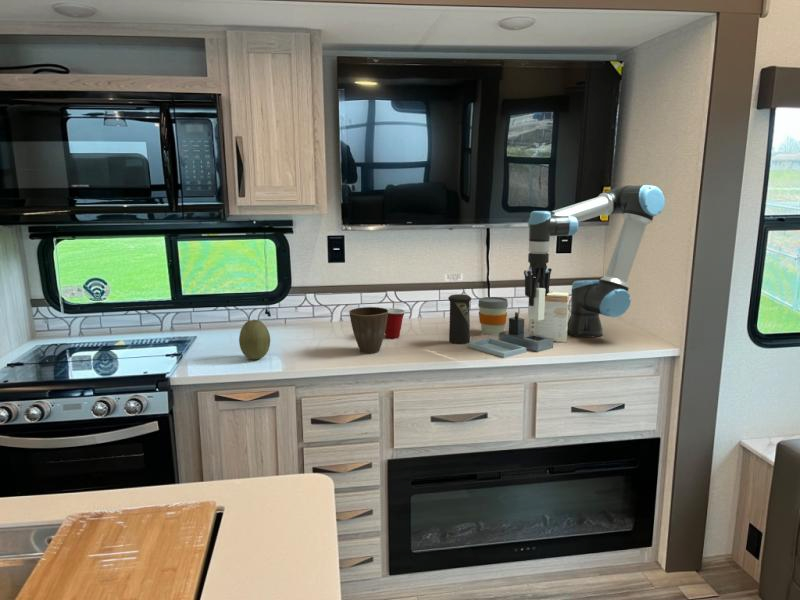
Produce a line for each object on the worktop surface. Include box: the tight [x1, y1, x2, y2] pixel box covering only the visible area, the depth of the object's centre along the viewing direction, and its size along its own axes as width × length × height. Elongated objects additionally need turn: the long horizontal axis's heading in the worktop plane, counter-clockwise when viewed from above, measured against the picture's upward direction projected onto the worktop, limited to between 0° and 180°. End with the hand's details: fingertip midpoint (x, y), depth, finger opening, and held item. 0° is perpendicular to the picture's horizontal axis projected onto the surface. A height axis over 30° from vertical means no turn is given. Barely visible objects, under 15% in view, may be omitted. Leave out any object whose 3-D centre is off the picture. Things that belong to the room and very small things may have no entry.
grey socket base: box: [498, 311, 554, 353], centre depth 233 cm, size 9×20×13 cm, turn 37°
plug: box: [527, 282, 545, 321], centre depth 227 cm, size 5×4×14 cm
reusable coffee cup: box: [477, 296, 509, 336], centre depth 254 cm, size 13×13×15 cm
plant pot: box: [348, 306, 388, 355], centre depth 229 cm, size 15×15×16 cm
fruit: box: [238, 319, 271, 361], centre depth 220 cm, size 11×11×15 cm
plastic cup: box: [384, 307, 406, 340], centre depth 250 cm, size 11×11×12 cm
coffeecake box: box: [528, 291, 570, 343], centre depth 244 cm, size 15×7×20 cm, turn 70°
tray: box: [467, 337, 528, 359], centre depth 228 cm, size 12×19×2 cm, turn 37°
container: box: [447, 293, 472, 345], centre depth 238 cm, size 9×9×20 cm
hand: (536, 313), depth 228 cm, fingers closed on plug, 3 cm apart
